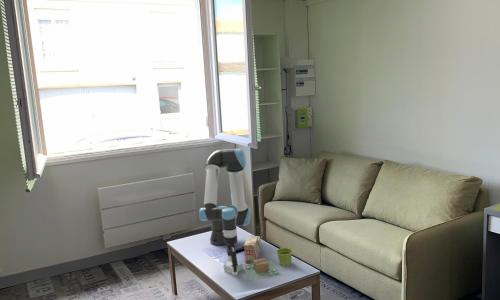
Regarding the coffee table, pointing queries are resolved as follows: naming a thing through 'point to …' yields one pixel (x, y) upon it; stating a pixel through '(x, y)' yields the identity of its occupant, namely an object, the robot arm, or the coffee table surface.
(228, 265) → the small box
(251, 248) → the stack of blocks
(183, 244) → the coffee table surface
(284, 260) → the plant pot
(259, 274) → the build plate
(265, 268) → the base brick
